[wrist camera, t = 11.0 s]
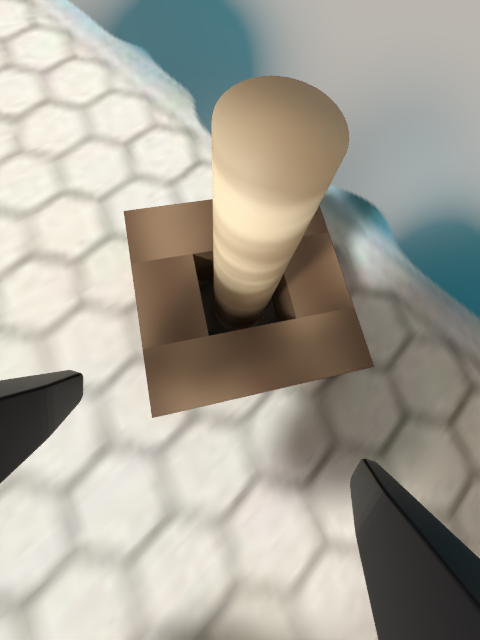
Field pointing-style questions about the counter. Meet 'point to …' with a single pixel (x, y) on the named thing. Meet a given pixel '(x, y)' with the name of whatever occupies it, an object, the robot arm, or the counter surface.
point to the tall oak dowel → (267, 185)
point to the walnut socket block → (241, 345)
